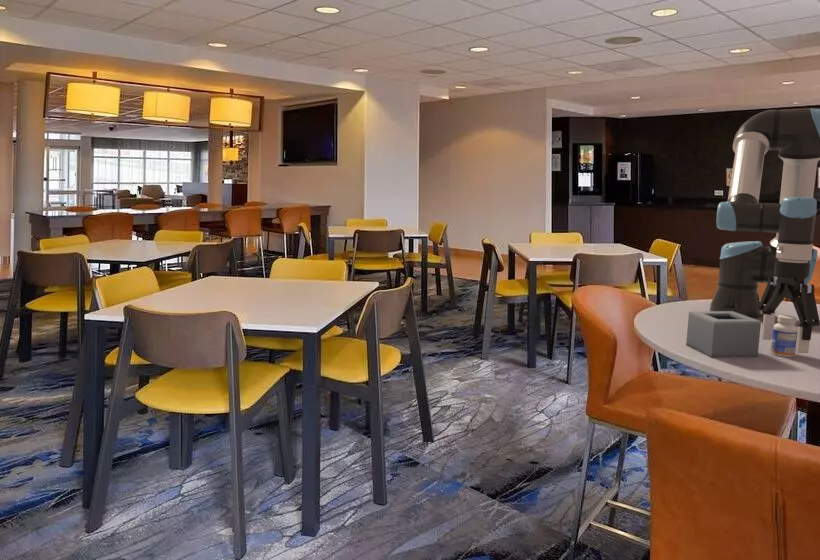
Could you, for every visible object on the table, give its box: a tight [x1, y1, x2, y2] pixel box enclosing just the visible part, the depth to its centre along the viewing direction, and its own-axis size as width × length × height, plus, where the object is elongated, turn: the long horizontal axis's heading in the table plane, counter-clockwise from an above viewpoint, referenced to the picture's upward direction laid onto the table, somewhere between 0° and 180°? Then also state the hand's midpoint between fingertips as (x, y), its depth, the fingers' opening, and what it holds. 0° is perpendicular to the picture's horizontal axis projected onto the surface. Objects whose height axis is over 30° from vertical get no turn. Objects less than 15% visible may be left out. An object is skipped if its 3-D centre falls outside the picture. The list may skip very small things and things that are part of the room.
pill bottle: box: [770, 314, 798, 358], centre depth 164 cm, size 5×5×10 cm
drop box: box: [685, 310, 762, 359], centre depth 167 cm, size 12×12×9 cm
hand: (783, 345), depth 165 cm, fingers open, 12 cm apart
